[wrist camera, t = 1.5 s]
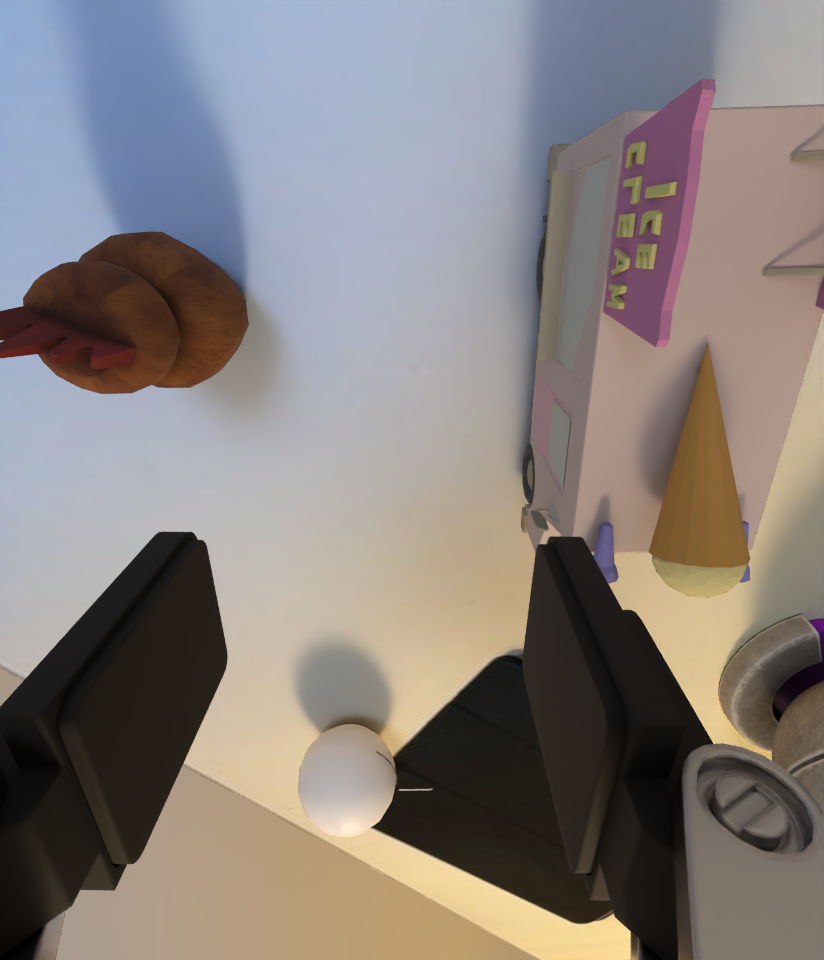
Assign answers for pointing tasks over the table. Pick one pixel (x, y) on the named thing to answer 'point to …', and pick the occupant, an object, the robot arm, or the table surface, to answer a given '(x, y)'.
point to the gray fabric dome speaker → (782, 697)
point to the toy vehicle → (674, 331)
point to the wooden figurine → (130, 316)
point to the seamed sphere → (347, 780)
